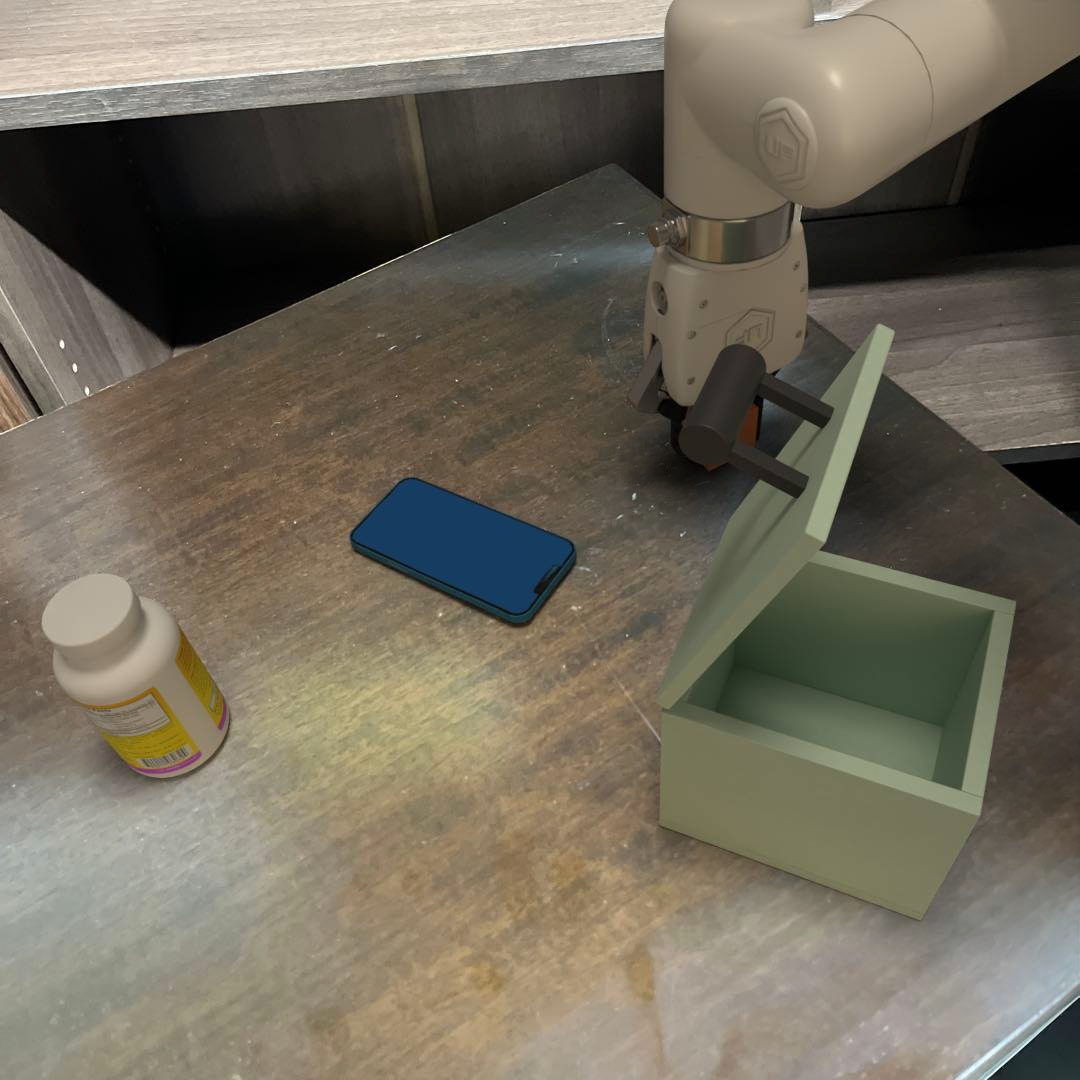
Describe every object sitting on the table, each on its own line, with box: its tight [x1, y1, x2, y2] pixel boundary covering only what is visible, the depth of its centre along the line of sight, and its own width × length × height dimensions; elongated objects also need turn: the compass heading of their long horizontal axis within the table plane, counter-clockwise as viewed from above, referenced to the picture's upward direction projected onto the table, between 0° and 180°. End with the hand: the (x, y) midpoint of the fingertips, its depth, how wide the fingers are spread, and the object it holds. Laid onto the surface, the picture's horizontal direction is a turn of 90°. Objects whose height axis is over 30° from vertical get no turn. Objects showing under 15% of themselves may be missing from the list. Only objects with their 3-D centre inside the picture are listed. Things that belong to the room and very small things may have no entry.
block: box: [702, 403, 758, 472], centre depth 70 cm, size 4×4×4 cm
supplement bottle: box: [41, 572, 230, 779], centre depth 56 cm, size 7×7×13 cm
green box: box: [658, 549, 1017, 921], centre depth 51 cm, size 14×12×12 cm
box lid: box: [653, 322, 896, 709], centre depth 42 cm, size 15×12×6 cm
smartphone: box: [348, 476, 578, 624], centre depth 68 cm, size 7×1×15 cm
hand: (715, 441), depth 71 cm, fingers closed on block, 4 cm apart
